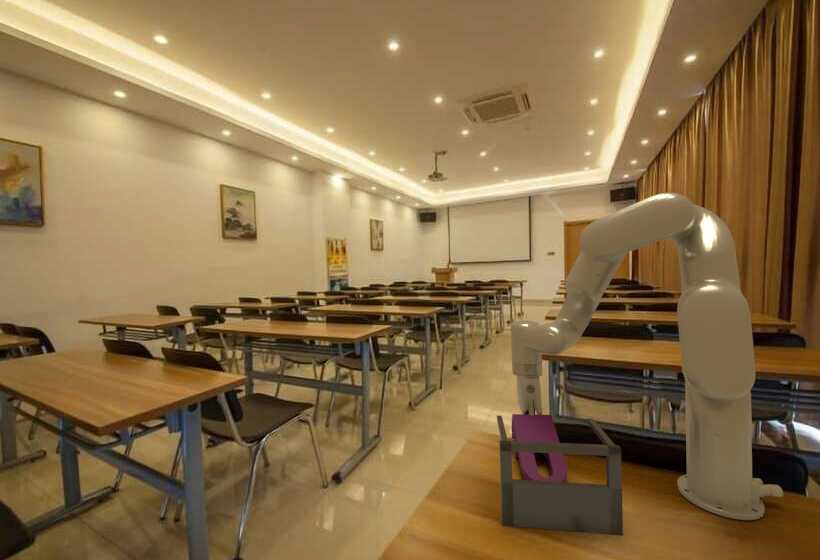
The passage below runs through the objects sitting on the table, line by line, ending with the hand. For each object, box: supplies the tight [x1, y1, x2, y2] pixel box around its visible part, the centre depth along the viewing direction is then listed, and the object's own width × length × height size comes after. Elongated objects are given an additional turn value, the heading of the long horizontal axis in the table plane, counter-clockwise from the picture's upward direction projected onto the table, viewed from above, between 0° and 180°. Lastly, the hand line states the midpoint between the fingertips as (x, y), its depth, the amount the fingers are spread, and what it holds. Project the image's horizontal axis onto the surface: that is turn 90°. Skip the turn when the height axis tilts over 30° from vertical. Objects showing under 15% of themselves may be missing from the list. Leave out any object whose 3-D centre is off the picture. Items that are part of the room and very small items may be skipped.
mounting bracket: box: [511, 413, 568, 482], centre depth 81 cm, size 9×8×18 cm
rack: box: [496, 415, 624, 536], centre depth 66 cm, size 20×12×15 cm, turn 81°
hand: (529, 436), depth 92 cm, fingers closed
